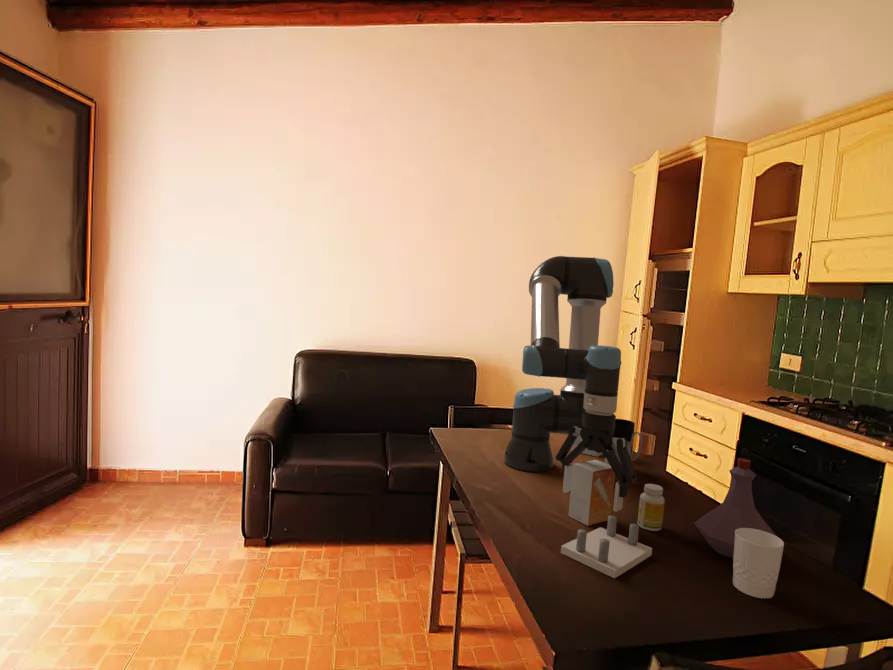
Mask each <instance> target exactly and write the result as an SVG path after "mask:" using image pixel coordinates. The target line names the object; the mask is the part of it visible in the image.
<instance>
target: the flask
mask: <svg viewBox="0 0 893 670" xmlns="http://www.w3.org/2000/svg"><path fill="white" fill-rule="evenodd" d="M736 461H737V463H736V464H737V466H735V467H733V468H731V469H729V470H728V471H729V473H730V475H731V478H732V479H731V481H730V486H729V488H728V491H727V492H726V495H725V498H724V500H723V502H722V503H720V504H719V505H717V506H716V507H715V508H714V509H713V510H712V509H711V511H709V512H708V513H706V514H704V515H703V516H701V517H700V518H699V519H697V520H695V522H694V525H695V527H696V528H697V530H698V531H699V532H700V534H701V535H702V538H704V540H705V541H706V543H707V544H708V545H709V547H711V548H712V550H714V551H715V552H716V553H717V554H719V555H722V556H724V557H726V556H727V557H726V558H729V557H730V559H732V558H733V555H734V540H735V530H736V529H739V528H752V529H757V530H761V531H765V532H768V533H770V534H773V535H775V536H777V535H776V533H775V532H774V531H773V529H772V528H771V527H770V526H769V525H768V524H767V523H766V521H765V520H764V519H763V517H762V516H761V514H760V513H759V511H758V510H757V509H756V506H755V501H754V500H755V499H754V494H753V490H752V481H753V480H754V479H755V477H756V476H757V474H756V473H755V472H753V471H752V470H751V469H750V466H751V464H752V463H751V462H752V460H750V459H748V458H742V457H738V458H737V459H736Z"/></svg>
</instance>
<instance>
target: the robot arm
mask: <svg viewBox="0 0 893 670" xmlns="http://www.w3.org/2000/svg"><path fill="white" fill-rule="evenodd" d="M528 281H529V282H528V293H529V295H530V297H531V315H530V316H531V318H530V319H531V320H530V345H525V346H524V347H523V352H522V362H521V363H522V364H521V365H522V366H521V371H522V373H523V374H524V375H528V376H534V377H538V378H539V377H542V378H543V377H545V378H546V377H547V378H561V379H566V381H565V385H564V386H562V387H561V388H560V390H559V391H560V393H559V394H555V393H554V390H553V389H550V388H543V387H531V388H525V389H524V388H523V389H521V390H519V391H517V392H516V393H515V395H514V400H513V406H512V407H513V413H512V414H513V416H512V425H511V426H512V427H511V436H510V440H509V441H508V445H507V446H506V449H505V452H504V454H503V462H505V463H506V464H507V465H506V464H505V463H504V464H505V465H506V466H508V465H509V466H508V467H510V466H511V467H510V468H512V467H513V469H515V468H516V470H519V469H520V470H519V471H524V470H525V471H526V472H534V471H535V472H547V471H550V470H552V469H553V468H554V457H553V452H552V448H551V447H552V446H551V444H550V440H551V439H550V436H551V434H559V435H560V434H562V435H567V436H566V438H565V440H564V441H563V444H562V445H561V447H560V449H559V450H558V451H557V454H556V455H555V460H556V461H559V462H560V463H561V478H563V480H562V481H563V484H562V493H564V494H566V493H568V492H571V483H572V472H573V461H574V460H575V459H577V458H578V457H579V456H580V455H581V454H583V453H582V452H583V451H584V450H585V449H586V448H587V449H588V450H590V451H595V452H597V453H602V456H603V457H604V458H605V457H606V459H607V461H608V462H609V464H610V466H611V468H612V470H613V471H614V473H615V478H616V479H617V480H618V481H615V484H614V487H615V488H614V495H613V499H614V500H613V506H612V508H613V509H612V511H613V512H619V511H621V510H623V505H624V504H623V503H624V499H625V498H626V497H627V495H628V489H629V484H633V483H636V482H637V481H638V477H637V474H636V471H635V469H634V465H633V461H632V462H631V459H630V456H629V453H628V450H627V439H626V438H615V437H614V429H615V420H616V419H617V418H616V414H615V413H616V412H617V408H618V395H619V384H620V383H619V382H620V374H621V373H620V372H621V366H622V351H621V349H620V347H616V346H615V347H614V346H610V345H609V346H608V345H599V337H600V334H599V333H600V325H601V324H600V322H601V320H600V318H601V309H602V308H603V306H605V305H606V304H607V299H609V298H611V297H612V296H613V293H614V286H615V285H614V273H613V267H612V264H611V262H610V261H609V260H607V259H605V258H599V257H598V258H597V257H586V256H585V257H584V256H583V257H582V256H565V255H556V256H553V257H550V258H548V259H546V260H544V261H542V262H541V264H539V265H538V266H537V267H536V268H535V269H534V270H533V272H532V273H531V275H530V278H529V280H528ZM560 295H565V296H566V295H567V300H566V302H568V304H569V305H570V306H571V312H570V313H571V314H570V326H569V327H570V328H569V329H570V330H569V340H568V348H566V347H565V348H562V347H560V345H561V343H560V342H561V341H560V318H559V317H560V311H559V309H560V307H559V296H560ZM579 435H580V436H581V438H582V441H581V442H580V443H579V444H578V445H577V447H576V448H575V449H574V450H573V451H572V445H573V444H574V442H575V440H576V439H577V437H578V436H579ZM613 443H614V444H615V447H617V452H618V455H619V458H620V461H621V463H620V461H619V460H618V458H617V456H616V454H615V450H614V449H613V447H612V444H613ZM607 450H608V451H607ZM621 464H622V465H621Z"/></svg>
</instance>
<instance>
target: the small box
mask: <svg viewBox="0 0 893 670" xmlns="http://www.w3.org/2000/svg"><path fill="white" fill-rule="evenodd" d="M572 465H573V472H572V483H571V491H570V495H569V508H568V517H569V518H571V519H573V520H576V521H577V522H580V523H581V524H583V525H585V526H587V527H588V526H592V525H595V524H600V523H603V522H608V516H609V515H612V510H613V509H612V508H613V501H614V500H613V499H614V491H615V488H614V487H615V478H616V475H615V473H614V471H613V470H612V468H611V466H610V465H608V464H606V463H605V462H604V461H600V460H599V459H593V460H586V461H582V462H575V463H572Z"/></svg>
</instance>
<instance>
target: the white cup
mask: <svg viewBox="0 0 893 670" xmlns="http://www.w3.org/2000/svg"><path fill="white" fill-rule="evenodd" d="M775 535H776V534H775ZM775 535H773V534H770V533H768V532H765V531H761V530H757V529H752V528H739V529H736V530H735V540H734V555H733V559H732V561H733V562H732V570H733V572H732V585H733V586H734V587H735V588H736V589H737V590H738V591H739V592H741V593H743V594H745V595H748V596H751V597H754V598H758V599H763V598H764V600H765V599H766V598H767V599H772V598H773V597H774V596H775V592H776V587H777V582H778V579H779V573H780V570H781V563H782V560H783V559H782V558H783V552H784V547H785V542H784V540H782V539H781V538H780V537H778V536H777V535H776V536H775ZM767 599H766V600H767Z"/></svg>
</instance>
